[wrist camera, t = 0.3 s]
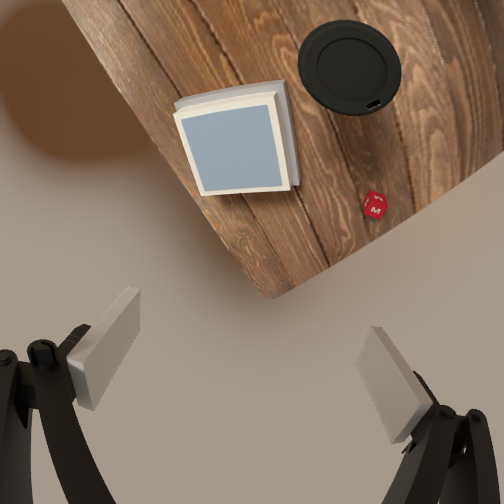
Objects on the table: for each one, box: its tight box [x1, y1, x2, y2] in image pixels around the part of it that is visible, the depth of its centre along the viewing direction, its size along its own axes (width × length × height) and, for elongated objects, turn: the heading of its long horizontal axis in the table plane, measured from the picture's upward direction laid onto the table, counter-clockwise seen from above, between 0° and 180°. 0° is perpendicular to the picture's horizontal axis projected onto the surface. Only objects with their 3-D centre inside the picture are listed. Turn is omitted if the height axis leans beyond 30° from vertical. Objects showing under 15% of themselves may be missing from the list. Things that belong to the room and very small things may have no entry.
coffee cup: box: [297, 20, 401, 116], centre depth 25 cm, size 10×10×15 cm
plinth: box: [173, 79, 301, 196], centre depth 40 cm, size 16×16×6 cm
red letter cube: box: [363, 190, 387, 220], centre depth 44 cm, size 3×3×3 cm
